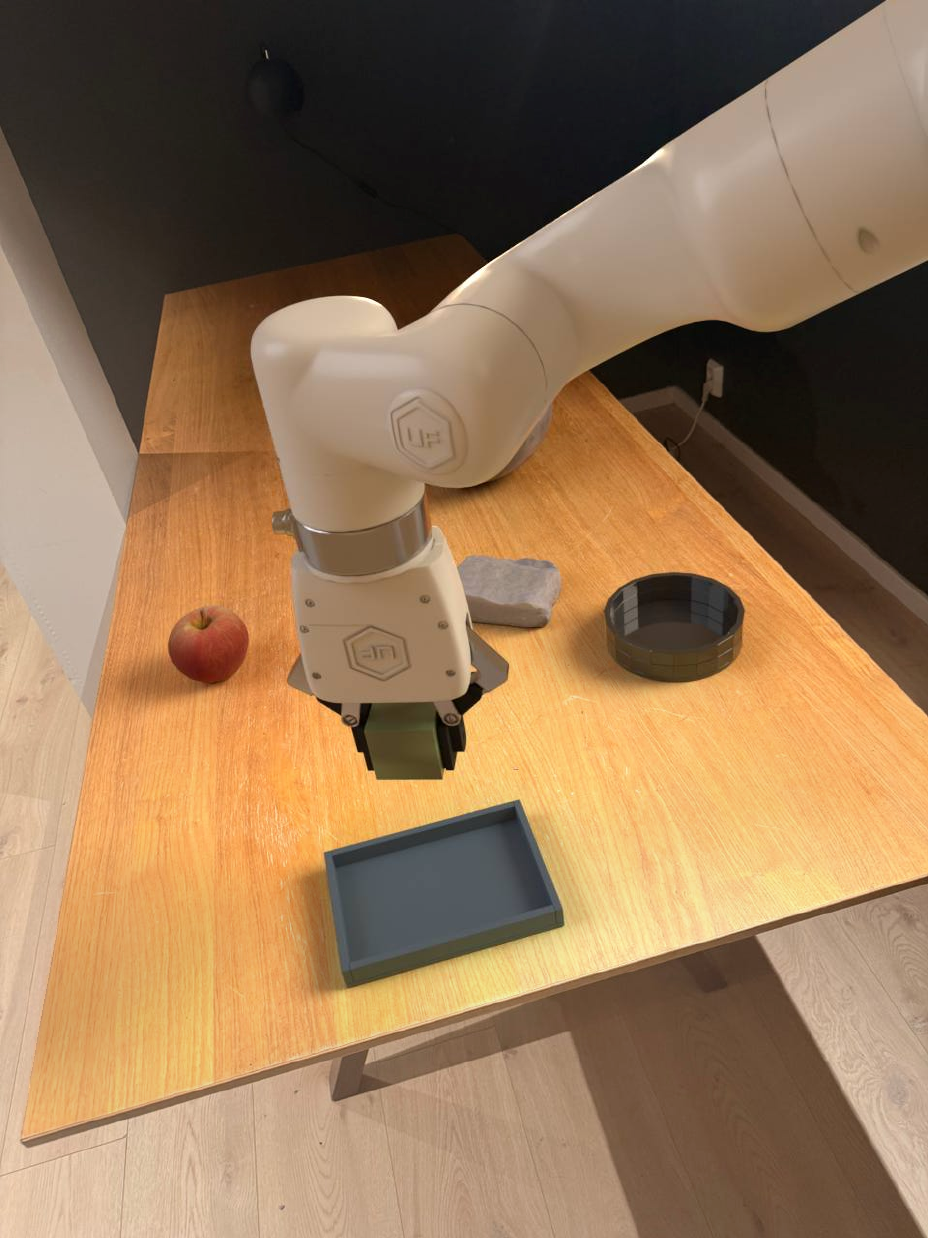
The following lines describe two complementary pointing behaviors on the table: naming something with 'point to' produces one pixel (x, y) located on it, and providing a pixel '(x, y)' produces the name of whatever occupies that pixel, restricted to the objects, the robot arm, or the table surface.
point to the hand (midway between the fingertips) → (414, 754)
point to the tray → (438, 892)
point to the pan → (674, 626)
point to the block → (404, 741)
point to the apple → (208, 644)
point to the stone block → (510, 590)
